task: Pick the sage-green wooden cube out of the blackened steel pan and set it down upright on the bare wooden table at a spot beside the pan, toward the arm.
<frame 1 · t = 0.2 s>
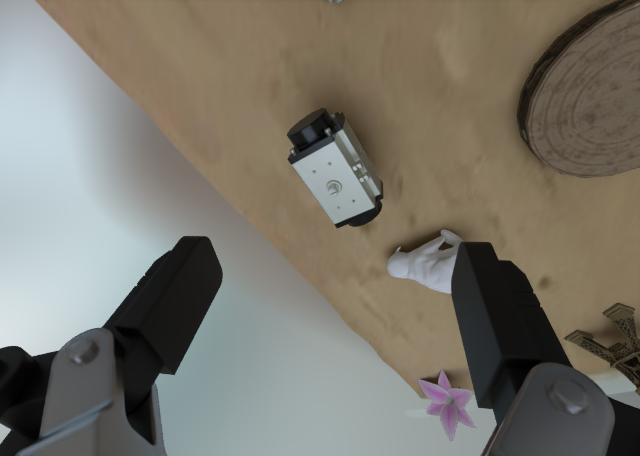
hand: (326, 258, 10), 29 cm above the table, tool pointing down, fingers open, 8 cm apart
pneumatic valve: (346, 139, 38), on the table
eiffel tower: (617, 330, 51), on the table
wood log slice: (606, 91, 31), on the table
lily: (444, 379, 68), on the table
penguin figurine: (425, 247, 46), on the table
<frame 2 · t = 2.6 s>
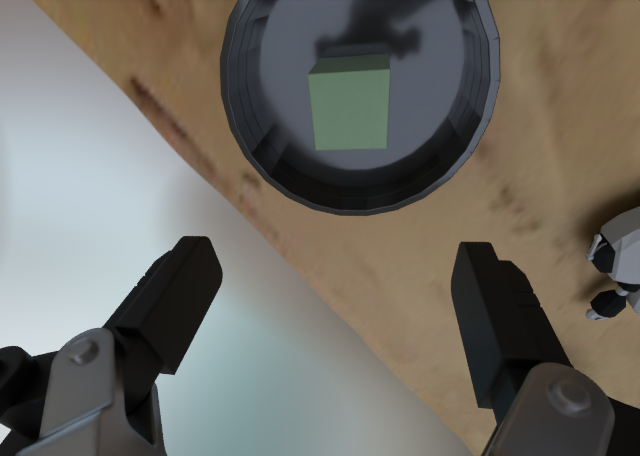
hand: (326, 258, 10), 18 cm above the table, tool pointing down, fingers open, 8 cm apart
cube: (354, 92, 24), resting on pan
pan: (354, 91, 24), on the table
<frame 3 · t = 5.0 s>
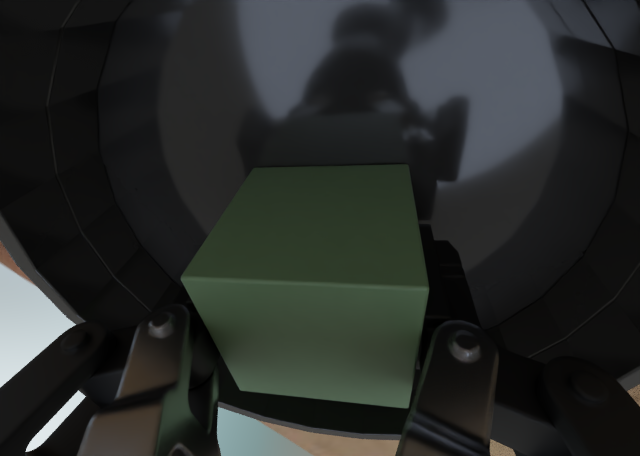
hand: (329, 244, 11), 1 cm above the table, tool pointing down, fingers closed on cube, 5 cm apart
cube: (333, 227, 11), resting on pan, touching gripper
pan: (333, 222, 12), on the table
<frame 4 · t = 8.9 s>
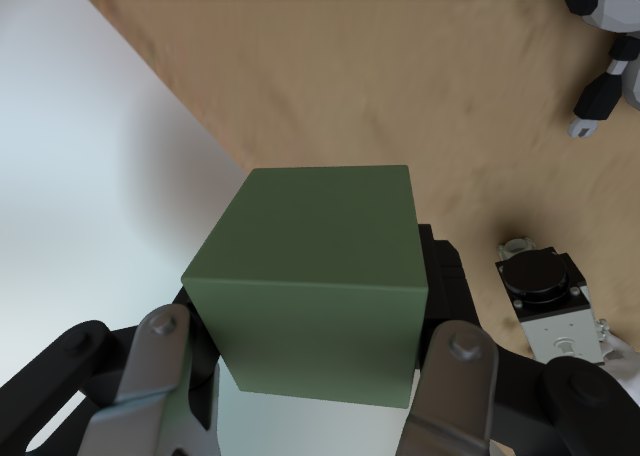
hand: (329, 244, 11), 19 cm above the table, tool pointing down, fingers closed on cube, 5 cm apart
cube: (332, 227, 11), point 19 cm above the table, touching gripper
pneumatic valve: (520, 249, 34), on the table
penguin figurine: (573, 344, 42), on the table
when the fingers open (1 cm above the table, at t = 12.6 s): cube stays where it is, on the table.
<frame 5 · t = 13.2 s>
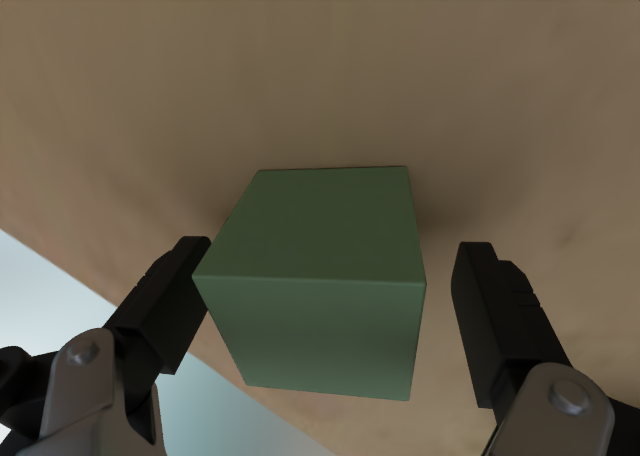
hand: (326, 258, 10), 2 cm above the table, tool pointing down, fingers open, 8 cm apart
cube: (334, 227, 12), on the table
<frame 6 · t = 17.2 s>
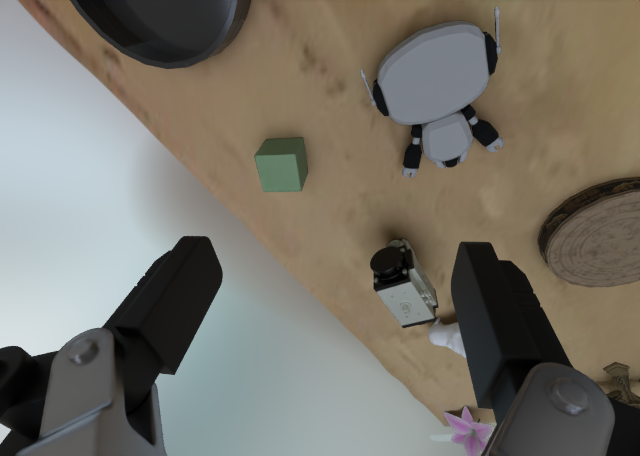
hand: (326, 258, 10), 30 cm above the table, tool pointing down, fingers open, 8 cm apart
cube: (287, 156, 41), on the table
pneumatic valve: (403, 247, 48), on the table
robot toy: (434, 99, 35), on the table
eiffel tower: (615, 380, 62), on the table
wood log slice: (605, 229, 41), on the table
lily: (466, 412, 78), on the table
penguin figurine: (459, 318, 57), on the table
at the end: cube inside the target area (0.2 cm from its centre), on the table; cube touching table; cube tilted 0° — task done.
